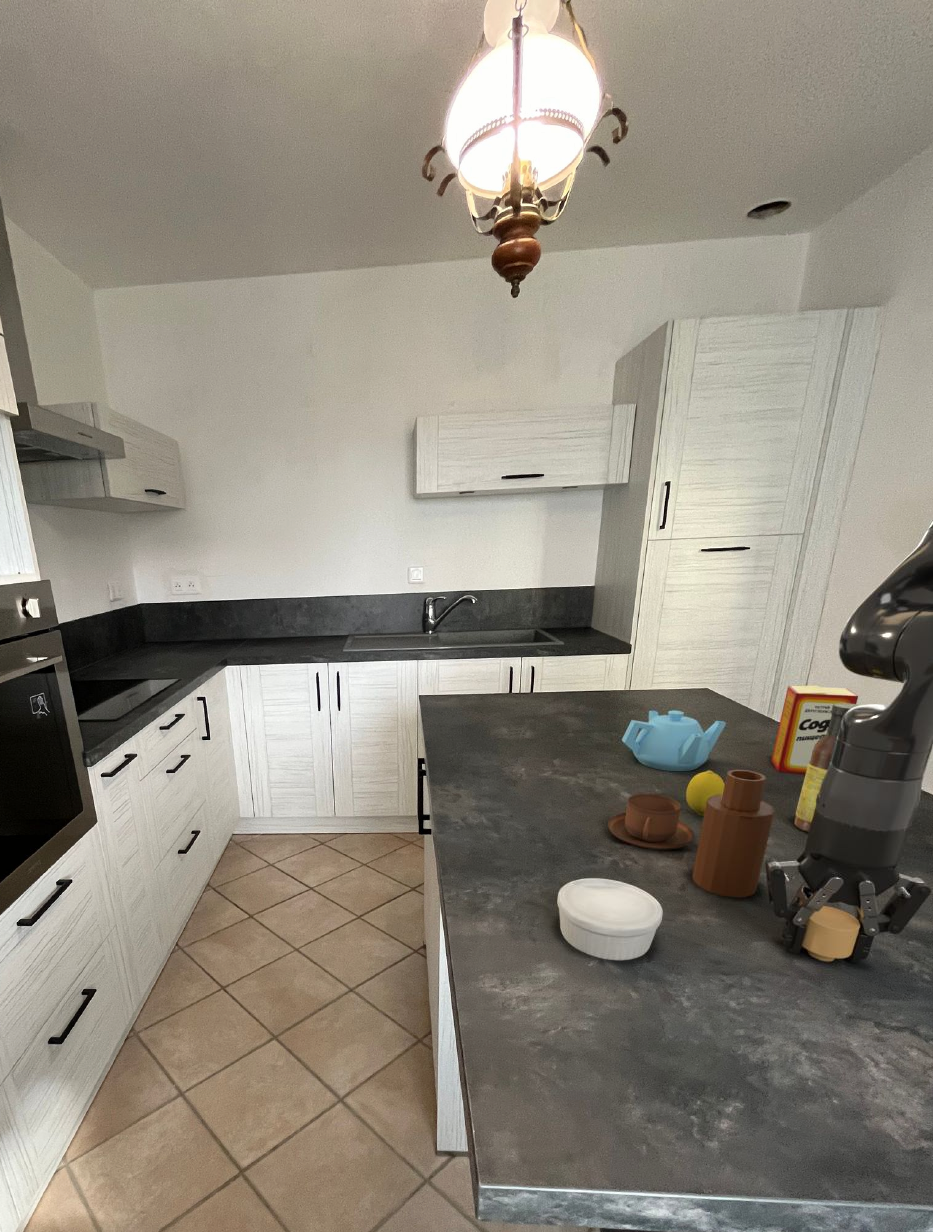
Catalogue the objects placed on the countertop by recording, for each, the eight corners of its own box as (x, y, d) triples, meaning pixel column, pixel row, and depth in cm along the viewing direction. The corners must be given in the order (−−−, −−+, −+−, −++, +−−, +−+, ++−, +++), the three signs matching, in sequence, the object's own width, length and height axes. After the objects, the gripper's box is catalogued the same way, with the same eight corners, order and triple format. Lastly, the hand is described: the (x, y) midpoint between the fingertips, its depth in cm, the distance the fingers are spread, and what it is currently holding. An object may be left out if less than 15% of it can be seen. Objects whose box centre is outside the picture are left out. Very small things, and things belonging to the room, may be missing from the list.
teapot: (646, 746, 139) (653, 699, 135) (720, 760, 129) (729, 709, 125) (616, 763, 129) (622, 712, 125) (693, 779, 119) (702, 725, 115)
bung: (837, 951, 69) (850, 909, 67) (854, 978, 65) (868, 933, 63) (787, 943, 71) (798, 902, 69) (799, 969, 66) (812, 925, 64)
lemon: (719, 824, 100) (729, 778, 97) (681, 818, 103) (689, 773, 100) (721, 812, 104) (730, 768, 102) (684, 806, 107) (692, 763, 104)
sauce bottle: (832, 841, 93) (868, 713, 86) (785, 828, 98) (815, 705, 91) (848, 829, 97) (883, 705, 90) (802, 817, 102) (832, 698, 94)
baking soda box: (827, 765, 123) (847, 686, 118) (836, 776, 118) (858, 693, 112) (771, 761, 127) (788, 684, 121) (778, 771, 121) (796, 691, 116)
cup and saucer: (702, 860, 89) (709, 821, 87) (613, 853, 92) (618, 815, 90) (680, 825, 100) (686, 790, 98) (601, 820, 103) (605, 786, 101)
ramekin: (630, 912, 78) (636, 875, 76) (675, 968, 67) (683, 927, 65) (541, 915, 78) (545, 878, 76) (572, 971, 67) (577, 930, 65)
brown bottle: (747, 878, 84) (772, 768, 78) (760, 906, 78) (788, 788, 72) (688, 871, 87) (708, 763, 81) (696, 897, 80) (718, 782, 75)
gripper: (788, 818, 60) (753, 962, 67) (975, 835, 56) (919, 989, 62) (769, 790, 67) (738, 924, 73) (935, 804, 62) (887, 946, 68)
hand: (821, 953), depth 67 cm, fingers closed on bung, 4 cm apart
